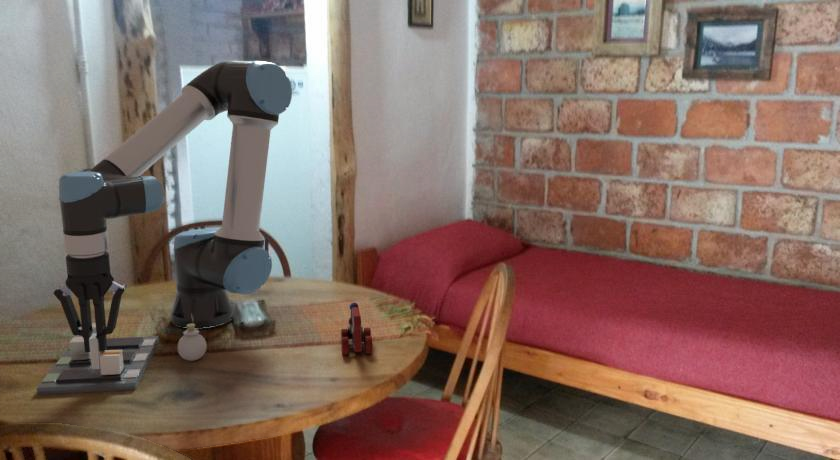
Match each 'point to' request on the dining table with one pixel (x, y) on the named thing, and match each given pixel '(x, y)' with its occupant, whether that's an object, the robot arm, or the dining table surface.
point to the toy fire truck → (356, 334)
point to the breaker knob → (111, 362)
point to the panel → (80, 377)
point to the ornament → (191, 344)
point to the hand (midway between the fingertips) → (97, 366)
